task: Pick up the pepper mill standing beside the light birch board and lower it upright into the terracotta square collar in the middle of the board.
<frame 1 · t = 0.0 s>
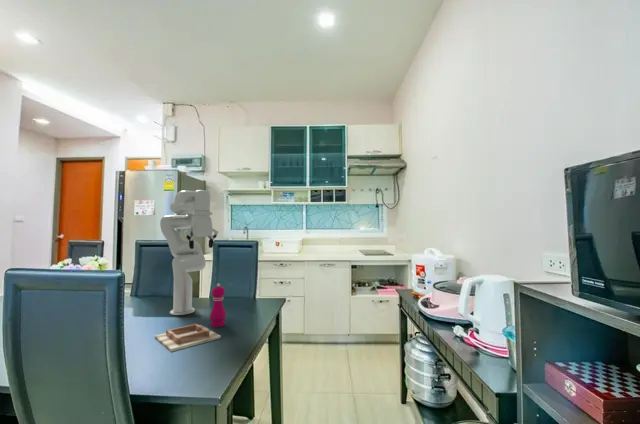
hand: (201, 248, 153), 37 cm above the table, tool pointing down, fingers open, 9 cm apart
pepper mill: (217, 325, 146), on the table
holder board: (187, 338, 129), on the table
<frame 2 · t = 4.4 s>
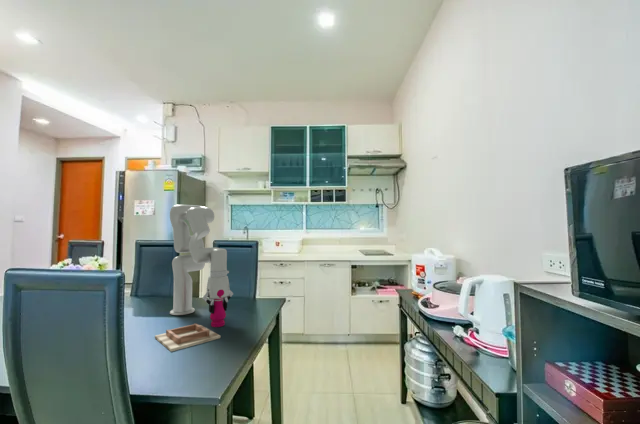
hand: (218, 311, 147), 7 cm above the table, tool pointing down, fingers closed on pepper mill, 5 cm apart
pepper mill: (217, 325, 146), on the table, touching gripper
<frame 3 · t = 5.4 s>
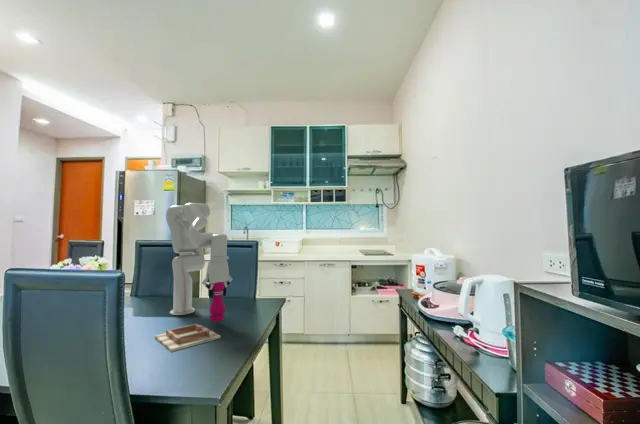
hand: (217, 296, 148), 14 cm above the table, tool pointing down, fingers closed on pepper mill, 5 cm apart
pepper mill: (217, 319, 147), point 3 cm above the table, touching gripper
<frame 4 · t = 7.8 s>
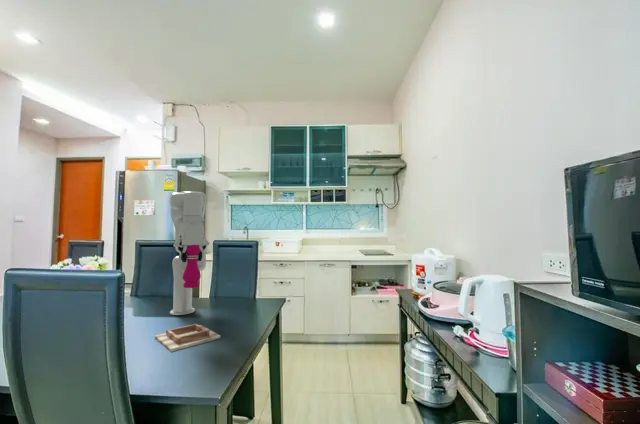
hand: (191, 260, 133), 33 cm above the table, tool pointing down, fingers closed on pepper mill, 5 cm apart
pepper mill: (191, 287, 131), point 21 cm above the table, touching gripper
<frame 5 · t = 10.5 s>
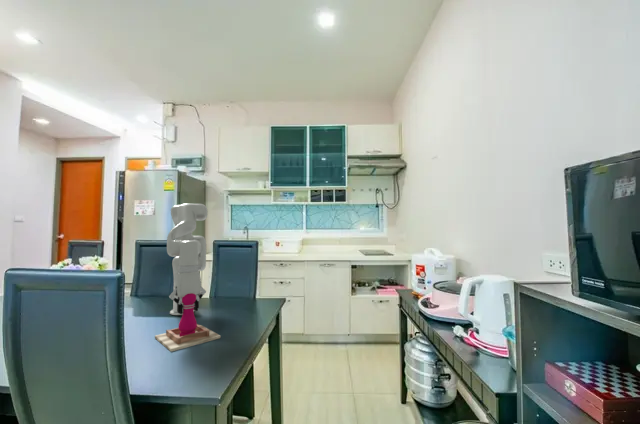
hand: (188, 311, 130), 11 cm above the table, tool pointing down, fingers open, 5 cm apart
pepper mill: (187, 336, 128), point 1 cm above the table, touching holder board
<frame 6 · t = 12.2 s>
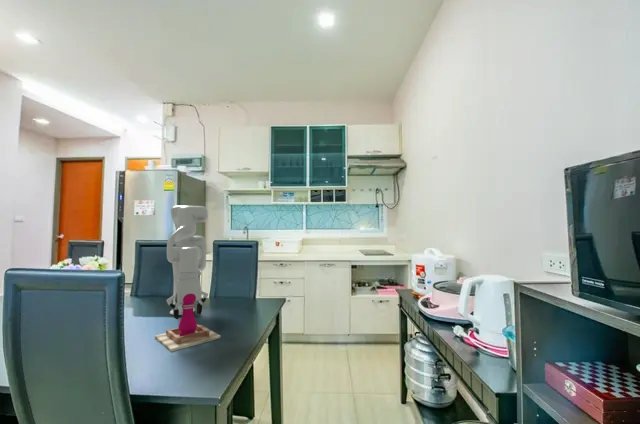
hand: (187, 316, 130), 9 cm above the table, tool pointing down, fingers open, 9 cm apart
nothing on the table moved.
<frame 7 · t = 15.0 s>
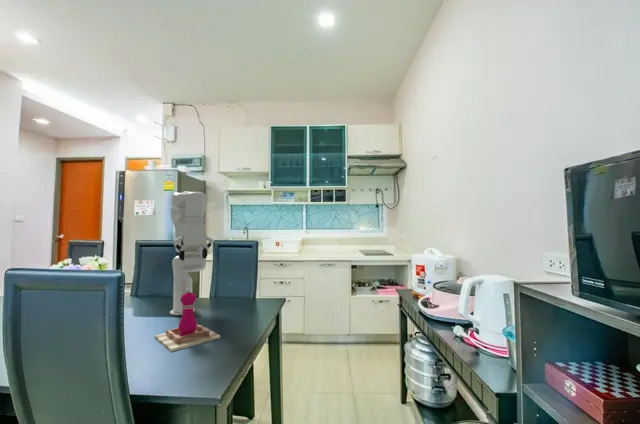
hand: (193, 259, 134), 33 cm above the table, tool pointing down, fingers open, 9 cm apart
nothing on the table moved.
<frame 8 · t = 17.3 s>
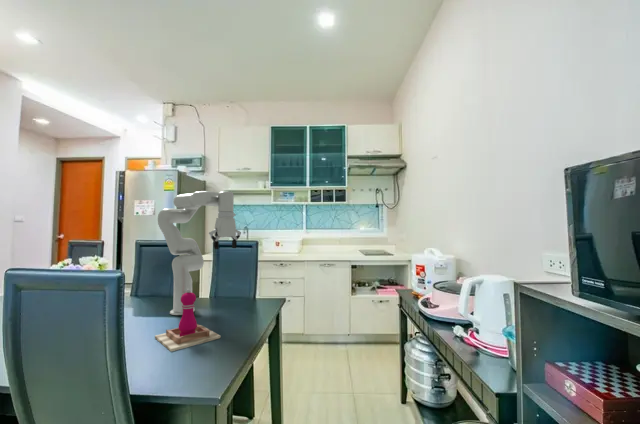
hand: (225, 248, 156), 36 cm above the table, tool pointing down, fingers open, 9 cm apart
nothing on the table moved.
at the end: pepper mill 1.2 cm off-centre on the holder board, point 0.8 cm above the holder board's base; pepper mill tilted 0°; the gripper is holding nothing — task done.
